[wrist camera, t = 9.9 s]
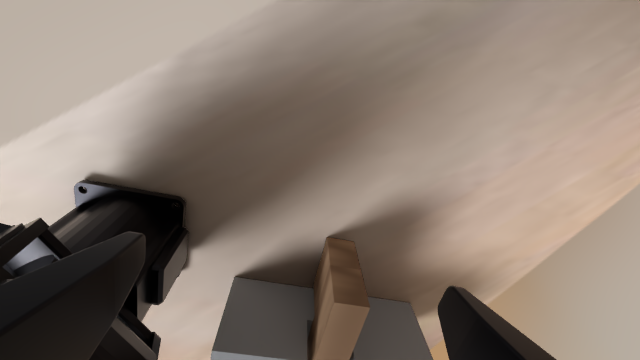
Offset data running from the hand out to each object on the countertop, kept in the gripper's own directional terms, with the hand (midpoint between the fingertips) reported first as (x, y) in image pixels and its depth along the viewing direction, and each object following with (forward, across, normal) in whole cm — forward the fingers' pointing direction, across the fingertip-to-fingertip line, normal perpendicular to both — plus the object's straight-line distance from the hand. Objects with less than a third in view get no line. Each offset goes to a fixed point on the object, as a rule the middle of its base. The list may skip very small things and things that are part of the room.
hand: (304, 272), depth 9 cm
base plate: (+11, -4, +12) cm, 17 cm away
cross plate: (+11, -4, +12) cm, 17 cm away
